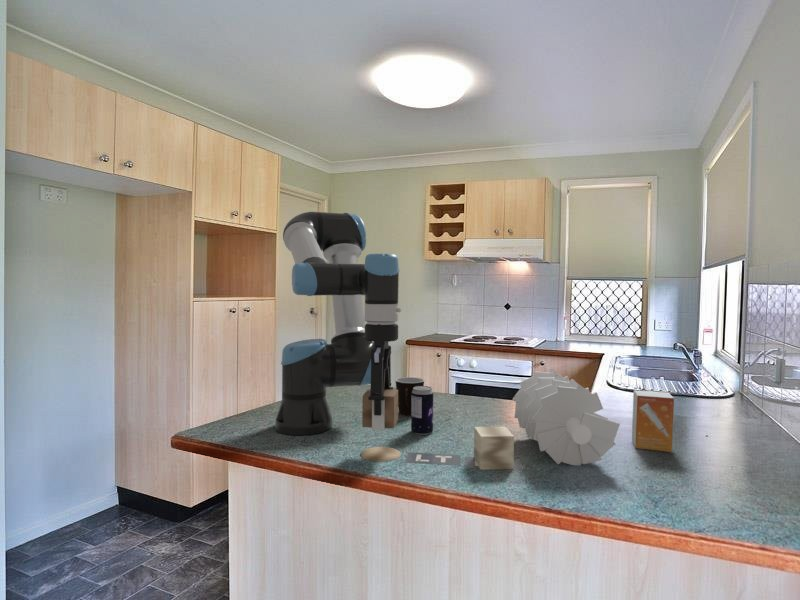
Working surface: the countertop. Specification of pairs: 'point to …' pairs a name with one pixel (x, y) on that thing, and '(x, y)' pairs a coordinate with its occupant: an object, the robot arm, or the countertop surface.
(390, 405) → the walnut block
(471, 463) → the code tile
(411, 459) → the tile
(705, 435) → the countertop surface
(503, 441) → the birch block
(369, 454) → the cork coaster
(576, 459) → the spiral staircase
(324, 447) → the countertop surface
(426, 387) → the beverage can
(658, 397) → the small box
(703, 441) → the countertop surface
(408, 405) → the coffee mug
